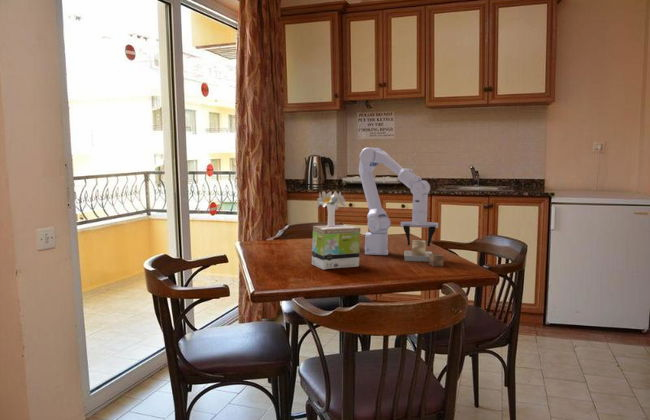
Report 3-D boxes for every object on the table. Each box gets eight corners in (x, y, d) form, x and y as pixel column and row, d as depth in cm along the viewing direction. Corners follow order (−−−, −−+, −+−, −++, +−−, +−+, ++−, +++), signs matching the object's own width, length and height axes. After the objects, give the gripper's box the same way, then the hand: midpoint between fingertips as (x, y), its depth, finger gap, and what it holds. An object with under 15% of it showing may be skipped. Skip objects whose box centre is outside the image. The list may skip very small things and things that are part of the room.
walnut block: (432, 266, 187) (433, 255, 187) (429, 264, 191) (429, 253, 190) (443, 266, 187) (443, 255, 187) (439, 264, 191) (439, 253, 191)
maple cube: (412, 254, 198) (412, 242, 198) (411, 252, 203) (412, 240, 203) (425, 255, 197) (425, 242, 197) (424, 252, 202) (424, 240, 202)
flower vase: (342, 242, 236) (343, 189, 233) (346, 250, 218) (347, 192, 215) (314, 242, 235) (315, 189, 233) (316, 250, 217) (316, 192, 214)
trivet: (404, 260, 196) (404, 255, 196) (404, 255, 207) (404, 250, 207) (433, 261, 195) (433, 256, 194) (431, 256, 206) (431, 251, 205)
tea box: (323, 270, 178) (324, 229, 177) (311, 265, 187) (311, 225, 185) (360, 266, 185) (361, 226, 184) (346, 261, 194) (347, 223, 192)
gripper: (401, 211, 196) (400, 246, 197) (439, 213, 194) (438, 247, 195) (401, 210, 203) (400, 243, 204) (437, 211, 201) (436, 244, 202)
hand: (418, 245), depth 200 cm, fingers open, 7 cm apart
